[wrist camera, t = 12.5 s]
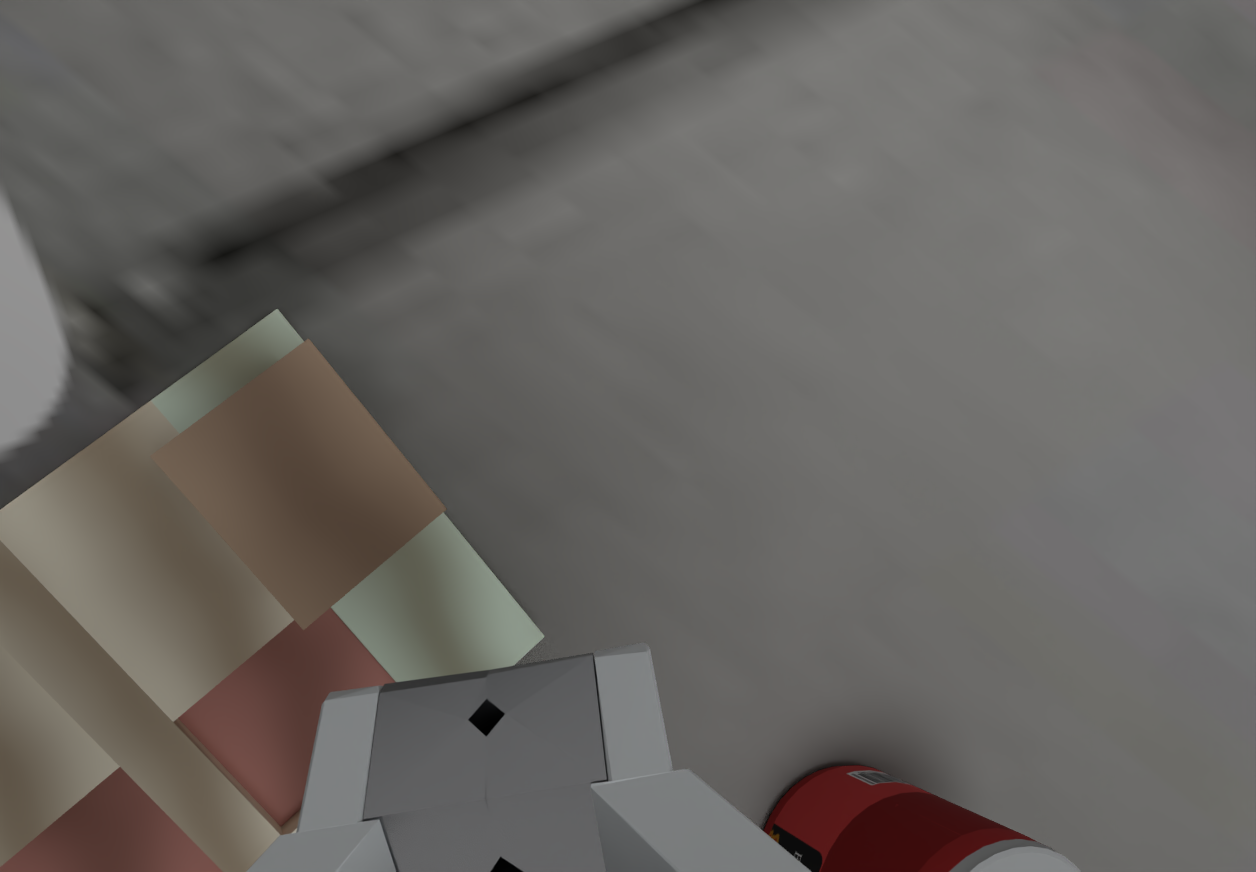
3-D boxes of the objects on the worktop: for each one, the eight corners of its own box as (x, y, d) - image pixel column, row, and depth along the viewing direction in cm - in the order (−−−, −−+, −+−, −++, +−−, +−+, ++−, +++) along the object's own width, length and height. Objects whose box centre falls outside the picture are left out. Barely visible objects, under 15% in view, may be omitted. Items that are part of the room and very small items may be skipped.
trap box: (-220, 1322, 32) (-237, 1361, 31) (-657, 989, 29) (-699, 1017, 27) (532, 630, 41) (544, 636, 40) (273, 313, 38) (277, 308, 36)
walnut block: (276, 593, 36) (303, 630, 29) (153, 454, 35) (149, 456, 28) (392, 496, 38) (447, 508, 31) (280, 360, 36) (308, 338, 29)
